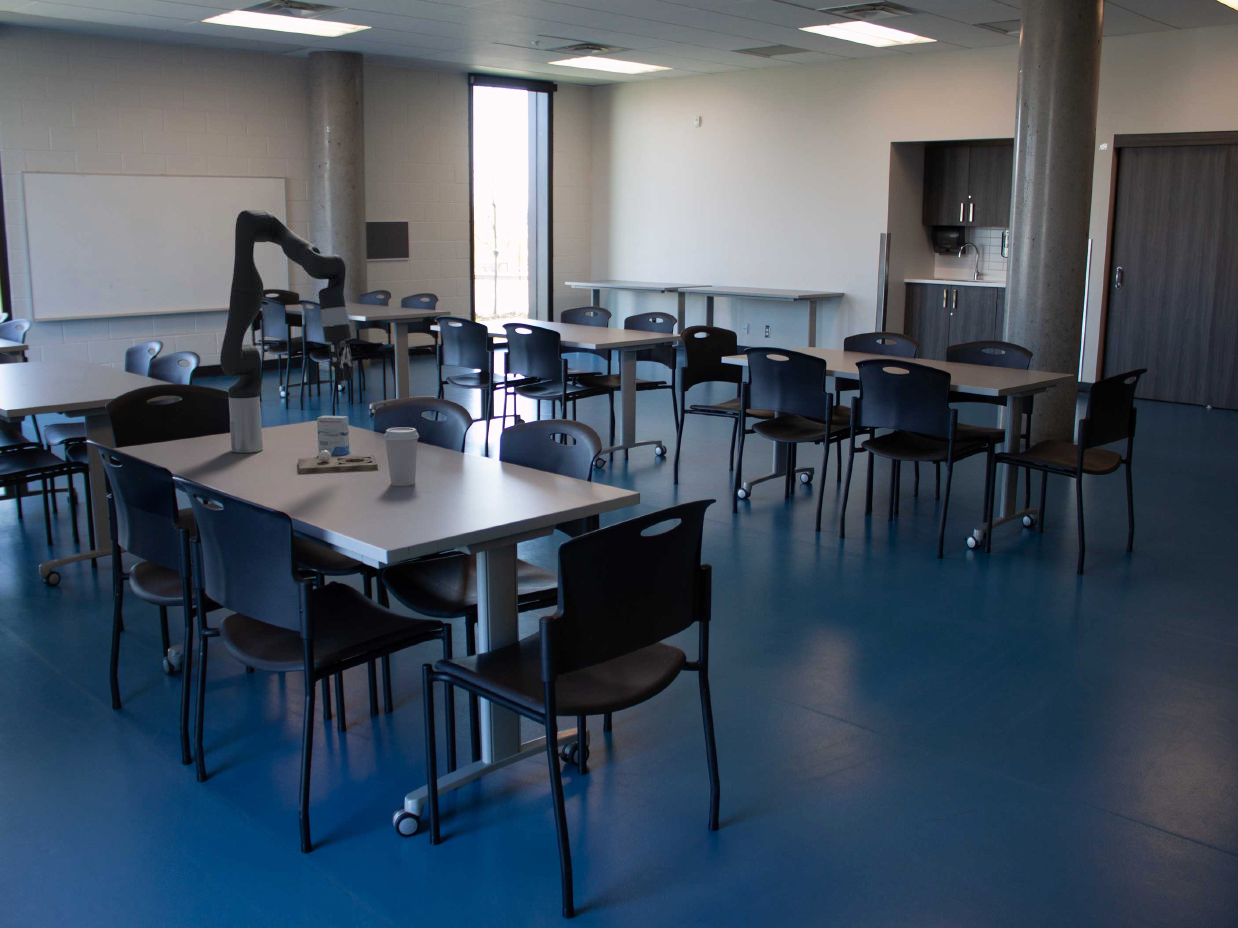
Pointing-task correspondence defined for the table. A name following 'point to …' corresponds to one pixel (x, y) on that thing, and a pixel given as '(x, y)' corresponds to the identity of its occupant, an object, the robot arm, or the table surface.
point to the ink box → (333, 434)
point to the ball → (324, 456)
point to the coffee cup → (402, 455)
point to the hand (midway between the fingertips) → (344, 381)
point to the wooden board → (337, 464)
